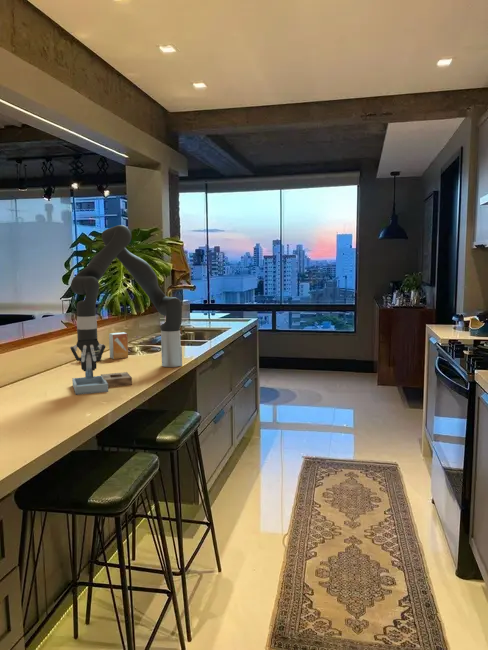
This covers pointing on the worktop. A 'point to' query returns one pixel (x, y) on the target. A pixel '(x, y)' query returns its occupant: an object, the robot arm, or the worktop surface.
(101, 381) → the tray
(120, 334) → the small box
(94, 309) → the robot arm
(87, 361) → the pin
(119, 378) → the plate
